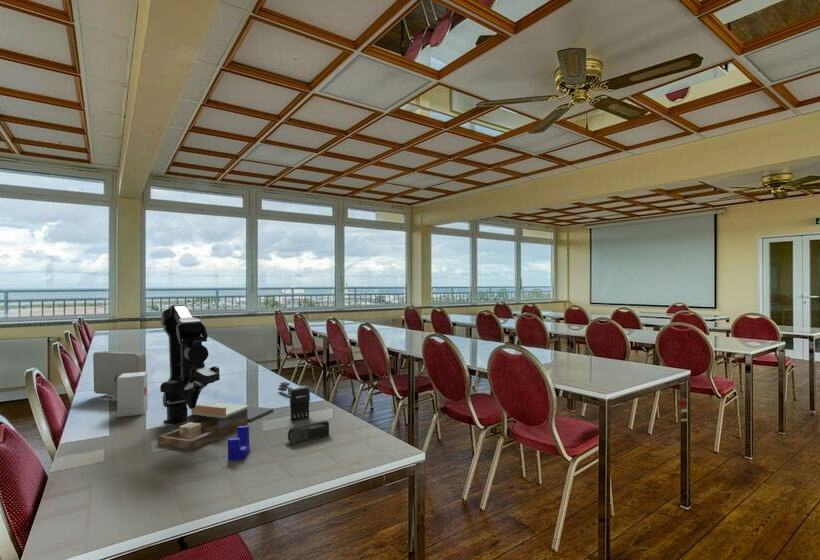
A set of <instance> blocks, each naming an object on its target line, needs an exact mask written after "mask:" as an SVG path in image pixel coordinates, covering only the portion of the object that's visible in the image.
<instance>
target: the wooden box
mask: <svg viewBox="0 0 820 560" xmlns="http://www.w3.org/2000/svg"><path fill="white" fill-rule="evenodd" d="M190 422H193V423H200V424H201V435H200V436H197V437H195V438H192V439H190V440H188V439H181V438H180V432H179V428H177V429H173V430H171V431H168V432H166V433H164V434H161V435H158V436H157V445H158V444H160V446H165V447H171V448H179V449H185V450H190V451H191V450H195V449H197V448H199V447H201V446H203V445H206V444H208V443H210V441H211V442H212V440H213V441H215V440H217V439H219V438H221V436H222V437H224V436H226V435H229V434H230V432H231V433H233V432H235V431H238V427H239V426H249V425H248V421H247V409H246V410H243V411H241V412H238V413H236V414H233V415H231V416H228V417H226V418H217V417H209V416H201V415H193V414H189V415H188V416H187V420H186V424H187V423H190ZM214 439H215V440H214Z"/></svg>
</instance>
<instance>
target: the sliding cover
mask: <svg viewBox="0 0 820 560" xmlns="http://www.w3.org/2000/svg"><path fill="white" fill-rule="evenodd" d="M249 406H250V405H245V404H244V405H243V404H235V403H227V402H216V403H213V404H210V405H208V404H200V403H199V404H198V403H196V406H195V408H193V409H190V410H191V411H190V412H191V414H190V415H192V414H193V415H201V416H209V417H217V418H226V417H228V416H231V415H233V414H236V413H238V412H241V411H243V410H246V409H248V408H249Z"/></svg>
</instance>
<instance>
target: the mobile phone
mask: <svg viewBox="0 0 820 560" xmlns="http://www.w3.org/2000/svg"><path fill="white" fill-rule="evenodd" d="M329 435H330V422H329V421H328V420H323V421H318V422H311V423H304V424H298V425H296V426H293V427H291V428H289V430H288V432H287V440H288V443H287V442H286V443H285V445H284V446H291V445H295V444H299V443H304V442H308V441H313V440H317V439H321V438H326V437H328V436H329Z"/></svg>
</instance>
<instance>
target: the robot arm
mask: <svg viewBox="0 0 820 560" xmlns="http://www.w3.org/2000/svg"><path fill="white" fill-rule="evenodd" d="M160 319H161V320H160V321H161V326H163V327H162V328H163V331H164V333H165V334H166V335H167V336H168V348H169V349H168V352H169V376H170V377H169V378H168V380H167V381H164V382H162V383H161V385H160V390H159V391H160V393H163V395H162V405H163V407H165V408H166V419H165V420H163V423H166V424H175V425H177V424H180V423H183V422H187V416H189V415H188V408H189V410H191V409H193V408H195V406H196V404H198V403H197V402H198V400H199V396H200V395H201V391H202V390H203V389H204V388H205V387H208V385H210V384H213V383H215V382H218V381H220V378H221V377H220V367H219V366H217V365H214V366H211V367H206V363H205V362H206V360H208V357H209V351H208V348H207V347H206V346H204V345H203V343H205V342H208V331H207V329H206V326H205V324H204V323H203V322H202V320H201V319H200V318H198V317H193V315H192V314H191V313H190V311H189V309H188V305H187V304H185V303H180V304H179V303H177V304H175V303H174V304H171V305H170V306H169V308H167V309H166V310H163V312H162V314H161V317H160Z"/></svg>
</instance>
